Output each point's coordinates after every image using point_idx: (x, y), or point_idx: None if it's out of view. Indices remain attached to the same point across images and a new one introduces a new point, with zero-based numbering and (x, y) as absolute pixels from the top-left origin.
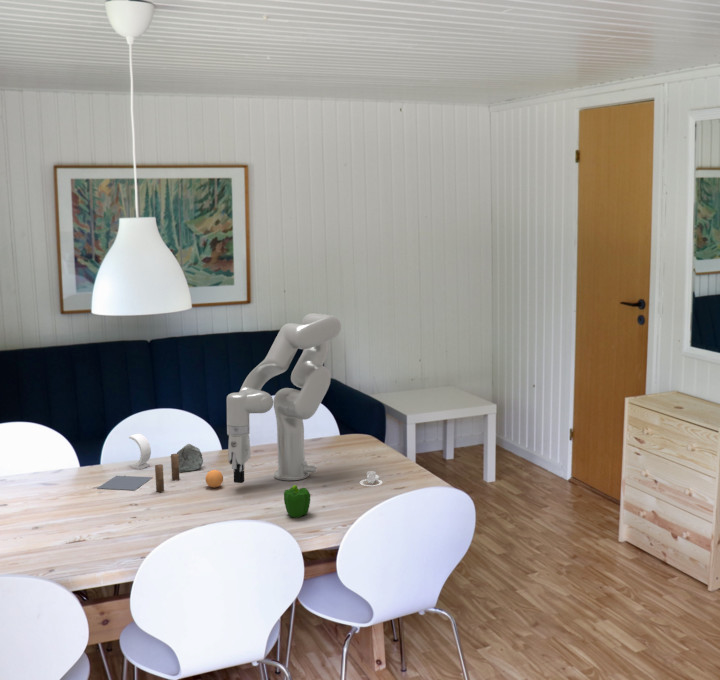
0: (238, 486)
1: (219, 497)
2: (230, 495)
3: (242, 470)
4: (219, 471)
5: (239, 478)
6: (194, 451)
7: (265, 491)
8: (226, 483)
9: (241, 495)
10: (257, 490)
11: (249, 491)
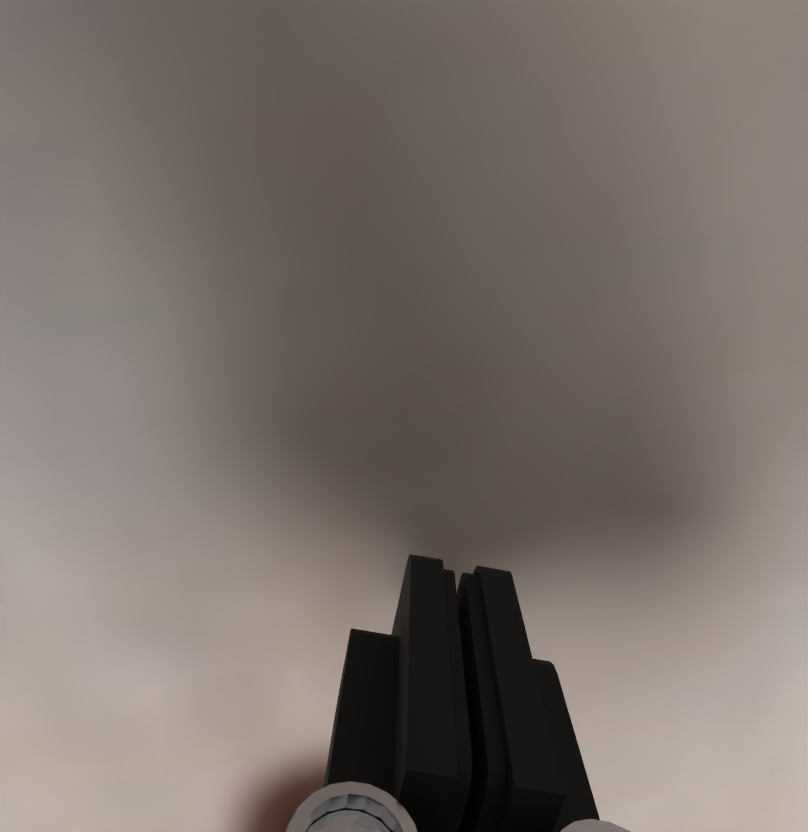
0: (305, 580)
1: (790, 748)
2: (740, 632)
3: (416, 812)
4: None
5: (564, 701)
6: None
7: (652, 18)
8: (169, 747)
9: (787, 477)
10: (556, 220)
11: (594, 371)
